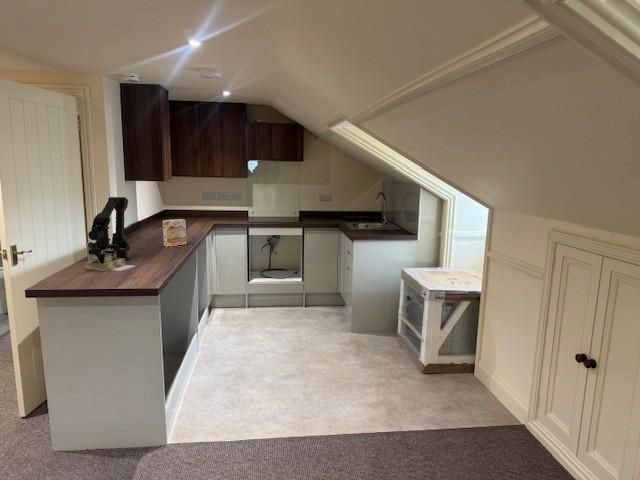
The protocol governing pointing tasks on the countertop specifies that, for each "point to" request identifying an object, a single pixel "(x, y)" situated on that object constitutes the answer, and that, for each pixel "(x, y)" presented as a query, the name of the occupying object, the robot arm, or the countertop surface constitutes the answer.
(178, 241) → the coffeecake box
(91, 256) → the skincare box
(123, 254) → the robot arm
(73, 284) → the countertop surface
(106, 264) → the wooden frame
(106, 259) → the sage box
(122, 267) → the grey mat
